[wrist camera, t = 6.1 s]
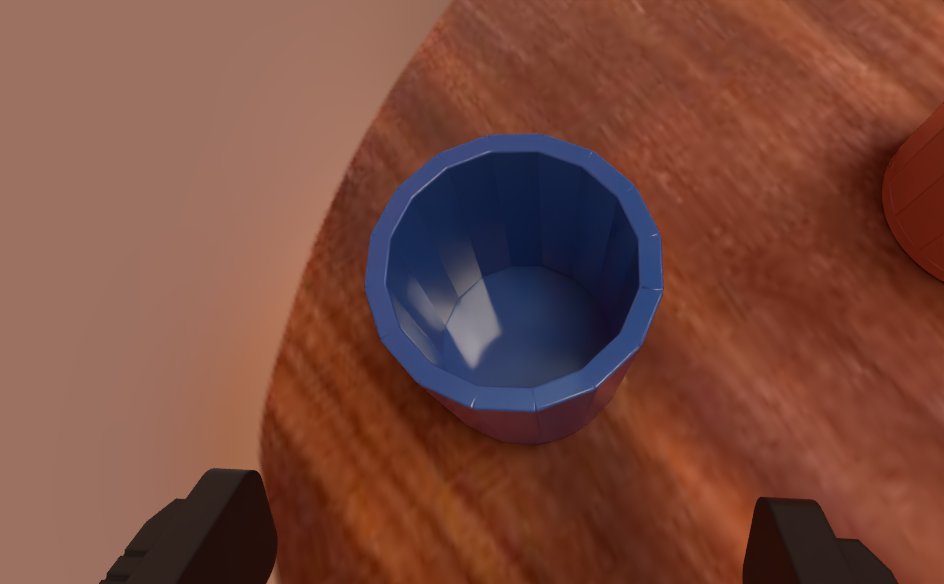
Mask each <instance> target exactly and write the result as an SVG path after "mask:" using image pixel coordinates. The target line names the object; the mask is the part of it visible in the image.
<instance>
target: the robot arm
mask: <svg viewBox="0 0 944 584" xmlns="http://www.w3.org/2000/svg"><path fill="white" fill-rule="evenodd" d="M276 554H277V533H276V529H275V525H274V522H273V518H272V514H271V511H270V507H269V503H268V500H267V496H266V492H265V488H264V485H263V481H262V478H261V476H260V474H259V473H258V472H257V471H255V470H239V469H219V468H218V469H217V468H213V469H210V470H208V471H207V472H206V473H205V474H204V475H203V476H202V477H201V479H200V480H199V481H198V483H197V484H196V486H195V487H194V488H193V490H192V491H191V493H190V494H189V495H188V497H187V498H186V499H175V500H174V501H172V502H171V503H170V504H168V505H167V506H166V507H165V508H163V509H162V510H161V511H160V512H158V513H157V514H156V515H154V516H153V517H152V518H151V519H149V520H148V521H147V522H146V523H145V524H144V525H143V527H142V528H141V530H140V531H139V532H138V533H137V535H136V536H135V537H134V539H133V540H132V541H131V542H130V544H129V545H128V546H127V548H126V549H125V554H124V555H123V556H120V557H119V558H118V560H117V561H116V562H115V563H114V565H113V566H112V567H111V569H110V570H109V571H108V572H107V577H106V579H105V580H101V582H100V583H99V584H266V583H267V581H268V579H269V577H270V575H271V572H272V570H273V567H274V564H275V560H276ZM743 584H898V582H897V580H896V579H895V577H894V575H893V573H892V571H891V570H890V569H889V568H887V567H886V566H885V565H884V564H883V563H882V562H881V561H880V560H879V559H878V558H877V557H876V556H875V555H874V554H873V553H872V552H871V551H870V550H869V549H868V548H867V547H866V546H865V545H863V544H862V543H861V542H860V541H859V540H858V539H841V538H836V537H835V535H834V533H833V531H832V529H831V527H830V525H829V523H828V521H827V519H826V517H825V515H824V513H823V511H822V509H821V507H820V506H819V504H818V503H817V502H816V501H815V500H812V499H791V498H771V497H760V498H758V500H757V502H756V505H755V509H754V514H753V519H752V524H751V529H750V534H749V539H748V544H747V549H746V554H745V559H744V564H743Z"/></svg>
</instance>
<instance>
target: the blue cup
mask: <svg viewBox="0 0 944 584" xmlns="http://www.w3.org/2000/svg"><path fill="white" fill-rule="evenodd" d="M371 235H372V236H370V242H369V251H368V259H367V268H366V276H365V285H364V286H365V293H366V296H367V300H368V303H369V306H370V309H371V313H372V316H373V319H374V323H375V326H376V329H377V332H378V336H379V339H380V340H381V342H382V344H383V345H384V346H385V347H386V348H387V349H388V351H389V352H390V353H391V354H392V355H393V356H394V357H395V359H396V360H397V361H398V362H399V363H400V364H401V366H402V367H403V368H404V369H405V370H406V371H407V372H408V374H409V375H410V376H411V377H412V378H413V379H414V380H415V382H416V383H418V384H419V385H420V386H421V387H422V388H423V389H425V390H426V391H427V392H428V393H429V394H431V395H432V396H433V397H434V398H435V399H436V400H438V401H439V402H440V403H441V404H442V405H443V406H445V407H446V408H447V409H448V410H449V411H450V412H452V413H453V414H454V415H455V416H456V417H458V418H459V419H460V420H461V421H462V422H463V423H465V424H466V425H467V426H469V427H471V428H474V429H476V430H477V431H479V432H481V433H483V434H484V435H486V436H489V437H491V438H494V439H496V440H499V441H502V442H508V443H514V444H523V445H525V444H542V443H548V442H552V441H555V440H558V439H562V438H564V437H566V436H568V435H570V434H573V433H575V432H576V431H579V430H580V429H582V428H583V427H584V426H585V425H587V424H588V423H589V422H590V421H591V420H593V419H594V418H595V417H596V416H597V415H598V413H599V412H600V411H601V410H602V409H603V408H604V407H605V406H606V405H607V404H608V403H609V402H610V400H611V399H612V397H613V395H614V394H615V392H616V390H617V388H618V387H619V385H620V383H621V381H622V380H623V378H624V376H625V374H626V373H627V371H628V369H629V367H630V366H631V364H632V362H633V360H634V359H635V357H636V355H637V353H638V352H639V350H640V348H641V346H642V344H643V342H644V340H645V337H646V335H647V332H648V330H649V327H650V325H651V322H652V320H653V318H654V315H655V313H656V310H657V308H658V305H659V303H660V300H661V298H662V296H663V290H664V285H663V262H662V240H661V236H660V232H659V230H658V228H657V226H656V224H655V222H654V220H653V218H652V216H651V214H650V212H649V211H648V209H647V207H646V205H645V203H644V201H643V199H642V197H641V195H640V193H639V191H638V189H637V188H636V187H635V185H634V184H633V183H632V182H630V181H629V180H628V179H627V178H626V177H625V176H623V175H622V174H621V173H620V172H619V171H617V170H616V169H615V168H614V167H613V166H611V165H610V164H609V163H608V162H607V161H605V160H604V159H603V158H602V157H601V156H599V155H598V154H597V153H596V152H593V151H592V150H590V149H587V148H584V147H581V146H578V145H575V144H572V143H569V142H566V141H563V140H560V139H557V138H554V137H551V136H548V135H545V134H543V135H542V134H496V135H489V136H487V135H486V136H483V137H480V138H478V139H475V140H472V141H470V142H467V143H464V144H462V145H459V146H456V147H454V148H451V149H448V150H446V151H443V152H440V153H439V154H438V155H435V156H434V157H433V158H431V159H430V160H429V161H428V162H427V163H426V164H424V165H423V166H422V167H421V168H420V169H418V170H417V171H416V172H415V173H414V174H413V175H411V176H410V177H409V178H408V179H407V180H405V181H404V182H403V183H402V184H401V185H400V186H398V188H397V189H396V190H395V191H394V193H393V195H392V197H391V199H390V201H389V202H388V204H387V206H386V208H385V210H384V211H383V213H382V215H381V217H380V219H379V220H378V222H377V224H376V226H375V228H374V229H373V231H372V234H371Z"/></svg>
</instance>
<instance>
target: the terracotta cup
mask: <svg viewBox="0 0 944 584" xmlns="http://www.w3.org/2000/svg"><path fill="white" fill-rule="evenodd" d="M882 203H883V209H884V213H885V217H886V220H887V222H888V225H889V227H890V230H891V231H892V233H893V235H894V237H895V238H896V240H897V242H898V243H899V244H900V246H901V247H902V248H903V249H904V251H905V252H906V253H907V254H908V255H909V256H910V257H911V258H912V259H913V260H914V261H915V262H916V263H917V264H918V265H919V266H921V267H922V268H923V269H924V270H925V271H927V272H928V273H930V274H931V275H933V276H934V277H936V278H937V279H939V280H941V281H943V282H944V103H943V104H942V105H941V106H940V107H939V108H938V109H937V110H936V111H935V112H934V113H933V114H932V115H931V116H930V117H929V118H928V119H927V120H926V121H925V122H924V123H923V124H922V125H921V126H920V127H919V128H918V129H917V130H916V131H915V132H914V133H913V134H912V135H911V136H910V137H909V138H908V139H907V140H906V141H905V142H904V143H903V144H902V145H901V146H900V148H899V149H898V151H897V152H896V153H895V154H894V156H893V158H892V159H891V161H890V162H889V165H888V167H887V169H886V172H885V175H884V179H883V185H882Z"/></svg>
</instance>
